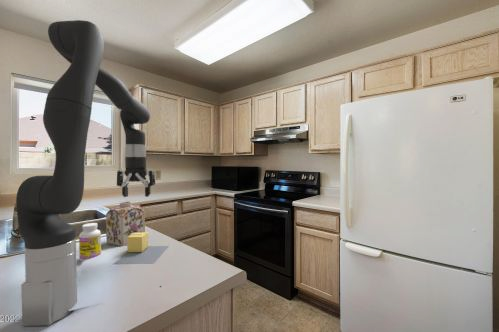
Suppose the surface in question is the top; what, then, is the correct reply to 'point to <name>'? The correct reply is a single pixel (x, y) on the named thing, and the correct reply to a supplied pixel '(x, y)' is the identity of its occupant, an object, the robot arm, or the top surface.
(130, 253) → the plate
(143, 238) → the yellow cube
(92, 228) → the supplement bottle
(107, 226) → the decorative jar
